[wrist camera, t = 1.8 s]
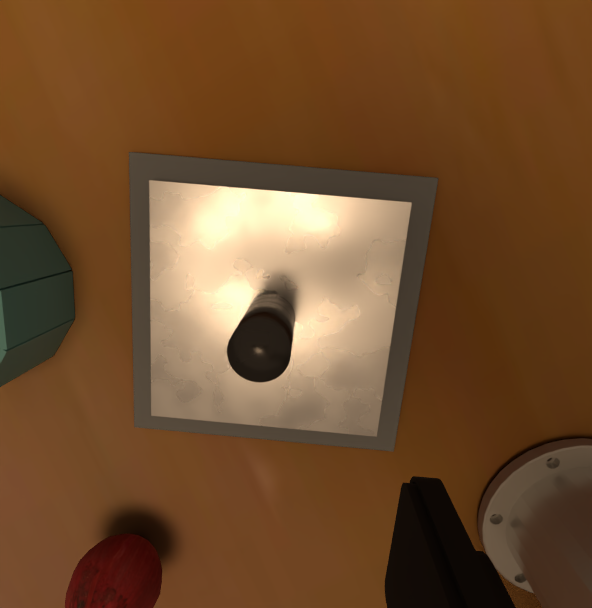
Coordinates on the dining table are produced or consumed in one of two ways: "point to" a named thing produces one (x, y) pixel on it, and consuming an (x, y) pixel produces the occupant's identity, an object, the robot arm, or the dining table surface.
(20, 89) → the dining table surface
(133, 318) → the mat
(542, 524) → the robot arm
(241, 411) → the lid
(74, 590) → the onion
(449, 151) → the dining table surface
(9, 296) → the bowl
